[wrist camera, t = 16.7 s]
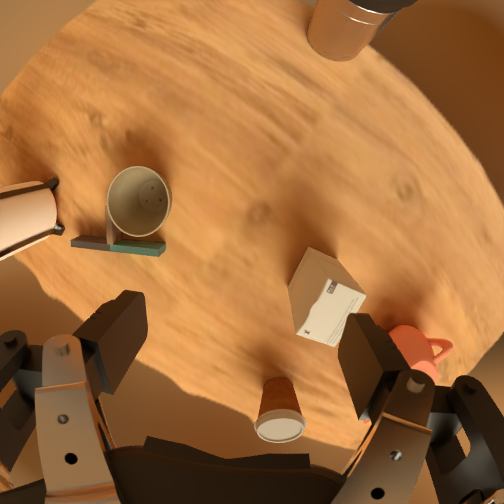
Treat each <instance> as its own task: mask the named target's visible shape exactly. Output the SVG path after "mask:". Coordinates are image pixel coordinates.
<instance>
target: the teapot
mask: <svg viewBox="0 0 504 504" xmlns="http://www.w3.org/2000/svg"><path fill="white" fill-rule="evenodd" d="M389 335H390V336H391V338H392V340H393V342H394V343H395V344H396V346H397V349H399V350H400V352H401V353H402V355H403V357H404V358H405V360H406V361H407V363H408V364H409V366H410V368H411V369H417V370H420V371H423V372H425V373H426V374H428V375H429V376H430V377H431V378H432V379H433V381H434V383H435V381H436V379H437V367H436V363H438V362H439V361H441V360H442V359H444V358H445V357H446V356H447V355H448V354H449V353H450V352H451V351H452V349H453V345H452V343H451V342H450V341H448V340H445V339H428V338H426V337H425V335H424V334H423V333H422V332H421V331H419V330H418V329H416V328H415V327H412V326H408V325H401V324H400V325H397V326H396V327H395V328H394V329H393V330H392V331H390V332H389ZM431 345H433V346H438V347H440V348H442V349H443V350H442V351H441V352H440V353H439V354H437V355H436V356H434V352H433V349H432V347H431ZM369 421H370V419H367V420H364V421H363V424H366V423H367V422H369Z"/></svg>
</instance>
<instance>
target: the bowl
mask: <svg viewBox="0 0 504 504" xmlns="http://www.w3.org/2000/svg"><path fill="white" fill-rule="evenodd" d="M151 187H152V188H151ZM160 199H162V200H160ZM147 202H148V203H147ZM171 206H172V193H171V189H170V186H169V184H168V182H167V181H166V180H165V178H164V177H163V176H162V175H161V174H159V173H158V172H156V171H155V170H153V169H150V168H148V167H144V166H132V167H128V168H126V169H124V170H122V171H121V172H120V173H118V174H117V175H116V176H115V178H114V179H113V181H112V182H111V184H110V186H109V189H108V193H107V209H108V213H109V215H110V218H111V220H112V221H113V223H114V224H115V225H116V227H117V228H118V229H120V230H121V231H122V232H124V233H126V234H128V235H131V236H135V237H142V236H147V235H150V234H152V233H154V232H155V231H156V230H158V229H159V228H160V227H161V226H162V224H163V223H164V222H165V220H166V219H167V217H168V215H169V212H170V210H171Z"/></svg>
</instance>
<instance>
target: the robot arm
mask: <svg viewBox="0 0 504 504" xmlns="http://www.w3.org/2000/svg"><path fill="white" fill-rule="evenodd" d="M416 1H417V0H318V2H317V4H316V7H315V10H314V13H313V16H312V18H311V21H310V24H309V27H308V30H307V38H308V41H309V43H310V45H311V46H312V48H313V49H314V50H315V51H316V52H317V53H319V54H320V55H322V56H323V57H325V58H328V59H331V60H334V61H347V60H351V59H353V58H355V57H356V56H357V55H358V54H359V53H360V51H361V50H362V49H363V48H364V47H365V46H366V45H367V44H368V43H369V42H370V41H371V40H372V39H373V38H374V37H375V36H376V35H377V33H378V32H379V31H380V30H381V29H382V28H383V27H384V26H385V25H386V24H387V23H388V22H389V21H390V20H391V19H392V18H393V17H394V16H395V15H396V14H397V13H398V12H399V11H400V10H401V9H402V8H404V7H408V6H410V5H412V4H413V3H415V2H416ZM147 332H148V324H147V315H146V305H145V296H144V294H143V293H142V292H136V291H130V290H124V291H123V292H122V293H121V294H120V295H119V296H118V297H117V298H116V299H115V300H111V301H109V302H107V303H104V304H102V305H101V306H100V307H99V308H98V309H97V310H96V311H95V313H93V314H92V315H91V316H90V318H88V319H87V320H86V321H85V322H84V323H83V324H82V325H81V326H80V327H79V329H77V330H76V331H75V332H74V333H73V335H65V334H64V335H58V336H54V337H52V338H50V339H49V340H48V341H47V342H46V343H45V344H44V346H38V345H29V342H28V340H27V337H26V335H25V333H23V332H22V331H19V330H12V331H8V332H5V333H3V334H2V335H1V336H0V392H1V391H2V389H3V388H4V387H5V386H6V384H7V383H8V382H9V381H10V379H11V380H12V382H13V384H14V386H15V387H16V390H15V391H14V393H13V394H12V396H11V397H10V398H9V400H8V401H7V402H6V404H5V405H4V406H3V408H2V409H1V408H0V504H408V502H409V500H410V497H411V495H412V493H413V490H414V487H415V485H416V482H417V480H418V477H419V474H420V472H421V469H422V466H423V462H424V459H426V462H427V465H428V468H429V471H430V474H431V477H432V481H433V484H434V487H435V491H436V494H437V497H438V501H439V504H504V417H503V415H502V413H501V412H500V410H499V409H498V407H497V406H496V404H495V402H494V401H493V399H492V398H491V396H490V395H489V393H488V392H487V391H486V389H485V388H484V386H483V385H482V383H481V382H480V381H478V380H477V379H475V378H474V377H471V376H467V375H462V376H459V377H457V378H456V380H455V381H454V383H453V385H452V386H451V387H446V386H436V385H435V383H434V381H433V379H432V378H431V377H430V376H429V375H428V374H426V373H425V372H423V371H420V370H417V369H411V368H410V366H409V364H408V363H407V361H406V360H405V358H404V357H403V355H402V353H401V352H400V350H399V349H397V346H396V344H395V343H394V342H393V340H392V338H391V336H390V335H389V333H388V332H386V331H385V330H384V329H383V328H381V327H380V326H376V324H375V323H374V321H373V320H372V318H371V317H370V315H369V314H367V313H350V314H349V315H348V317H347V319H346V323H345V327H344V330H343V333H342V337H341V340H340V343H339V348H338V359H339V363H340V365H341V368H342V371H343V374H344V377H345V380H346V383H347V386H348V389H349V392H350V395H351V398H352V401H353V404H354V407H355V411H356V414H357V417H358V420H367V419H370V420H371V423H372V424H371V425H370V427H369V428H368V430H367V432H366V434H365V436H364V438H363V439H362V441H361V443H360V444H359V446H358V448H357V450H356V451H355V453H354V455H353V456H352V458H351V459H350V461H349V463H348V464H347V466H346V467H345V468H344V470H343V471H342V473H341V474H340V473H338V472H336V471H333V470H331V469H328V468H326V467H322V466H318V465H314V464H310V459H309V454H264V455H257V456H250V457H242V458H234V459H224V458H221V457H218V456H215V455H212V454H209V453H206V452H203V451H201V450H198V449H196V448H193V447H190V446H188V445H185V444H181V443H175V442H171V441H166V440H162V439H158V438H154V437H150V436H147V438H146V441H145V444H144V446H143V445H135V446H125V447H119V448H116V446H115V444H114V442H113V439H112V437H111V434H110V431H109V428H108V425H107V422H106V419H105V416H104V413H103V409H102V405H101V402H100V399H99V395H100V393H101V392H105V393H108V394H112V395H113V394H114V392H115V391H116V389H117V387H118V386H119V384H120V382H121V380H122V379H123V377H124V375H125V374H126V372H127V370H128V368H129V367H130V365H131V363H132V362H133V360H134V358H135V357H136V355H137V353H138V352H139V350H140V348H141V347H142V345H143V344H144V342H145V340H146V337H147ZM35 426H37V436H38V445H39V452H40V458H41V464H42V470H43V475H44V478H43V479H41V480H38V481H35V482H32V483H29V484H27V485H24V486H21V487H17V488H14V485H13V484H12V483H11V477H10V472H11V470H12V468H13V466H14V464H15V462H16V460H17V458H18V456H19V454H20V452H21V451H22V449H23V447H24V445H25V443H26V442H27V440H28V438H29V436H30V435H31V433H32V431H33V430H34V428H35ZM462 427H463V429H464V431H465V433H466V435H467V437H468V439H469V441H470V445H471V448H470V452H469V454H468V456H467V457H466V456H465V454H464V452H463V449H462V447H461V446H460V443H459V440H458V438H457V436H456V434H457V433H458V431H459V430H460V429H461V428H462Z"/></svg>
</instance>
